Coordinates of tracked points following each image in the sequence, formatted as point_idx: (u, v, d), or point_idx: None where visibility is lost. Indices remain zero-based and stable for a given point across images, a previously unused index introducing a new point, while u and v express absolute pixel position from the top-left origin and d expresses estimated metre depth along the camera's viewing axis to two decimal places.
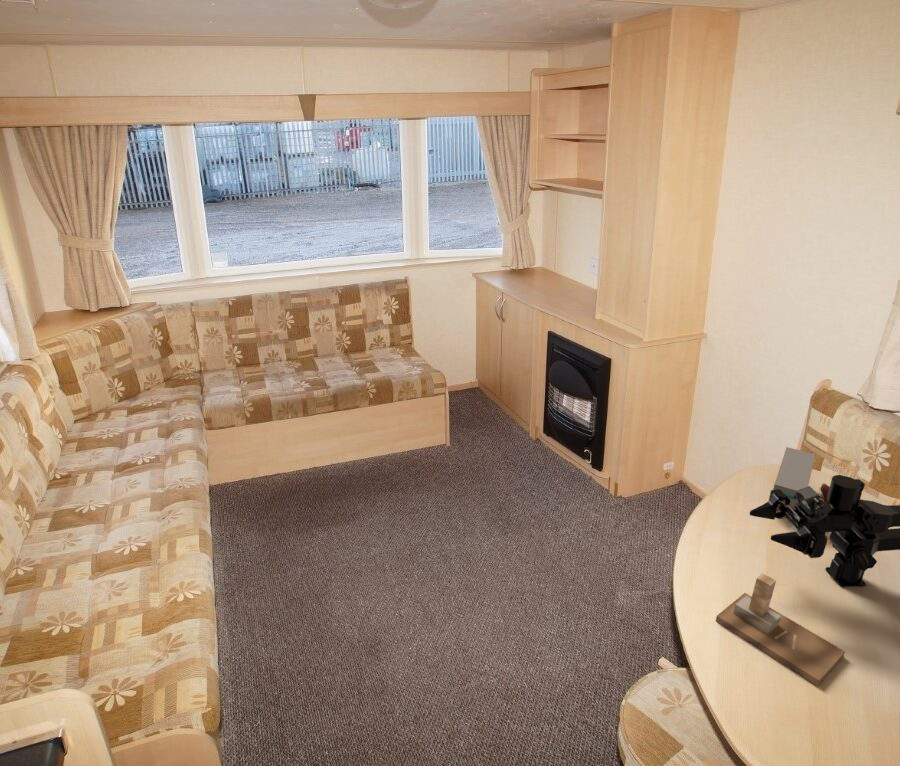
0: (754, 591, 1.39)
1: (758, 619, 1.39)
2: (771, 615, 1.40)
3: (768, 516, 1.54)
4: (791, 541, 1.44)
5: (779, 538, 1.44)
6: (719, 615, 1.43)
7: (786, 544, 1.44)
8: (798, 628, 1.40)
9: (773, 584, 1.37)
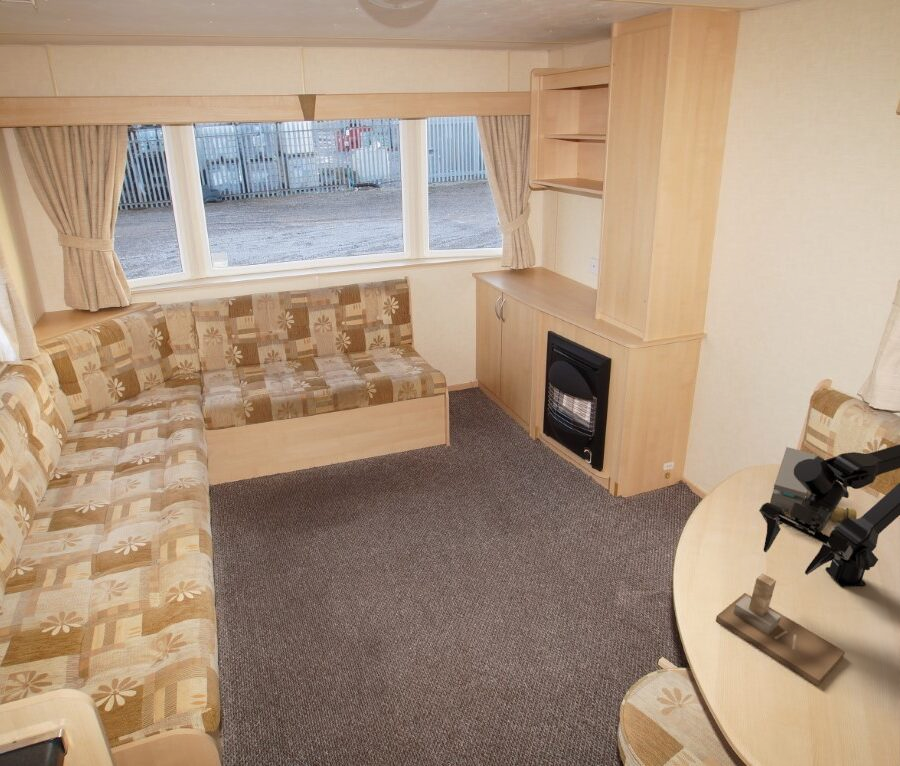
0: (754, 591, 1.39)
1: (758, 619, 1.39)
2: (771, 615, 1.40)
3: (776, 534, 1.47)
4: (821, 561, 1.38)
5: (812, 569, 1.38)
6: (719, 615, 1.43)
7: (819, 565, 1.39)
8: (798, 628, 1.40)
9: (773, 584, 1.37)
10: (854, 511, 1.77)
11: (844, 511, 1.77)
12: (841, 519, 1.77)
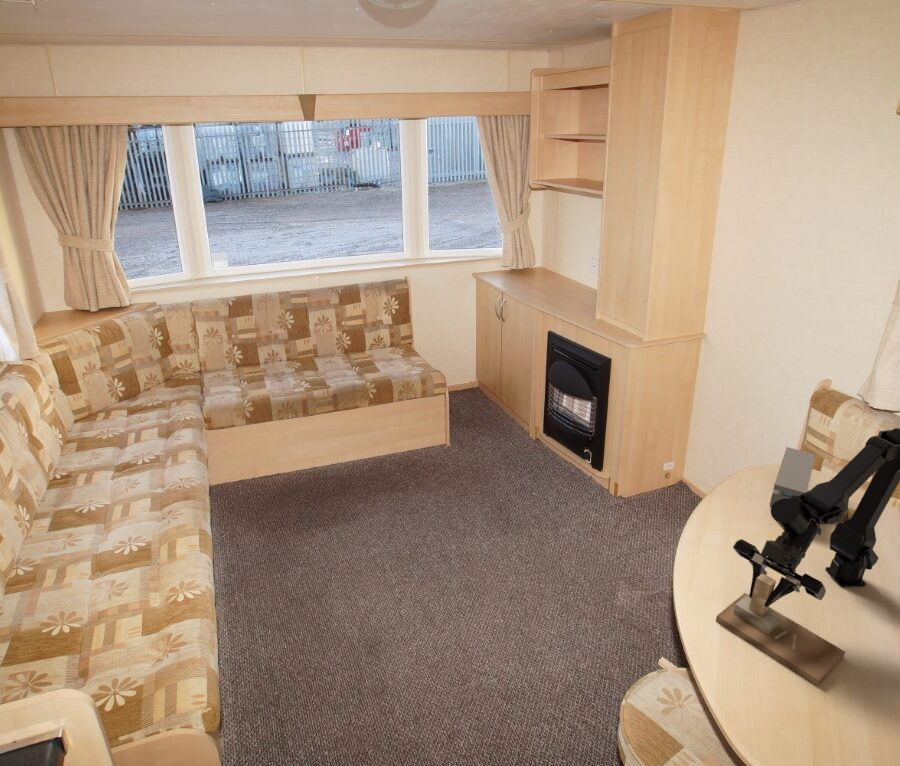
0: (754, 591, 1.39)
1: (758, 619, 1.39)
2: (771, 615, 1.40)
3: None
4: (781, 593, 1.38)
5: (771, 601, 1.38)
6: (719, 615, 1.43)
7: (779, 598, 1.39)
8: (798, 628, 1.40)
9: (773, 584, 1.37)
10: (854, 511, 1.77)
11: None
12: (841, 518, 1.78)
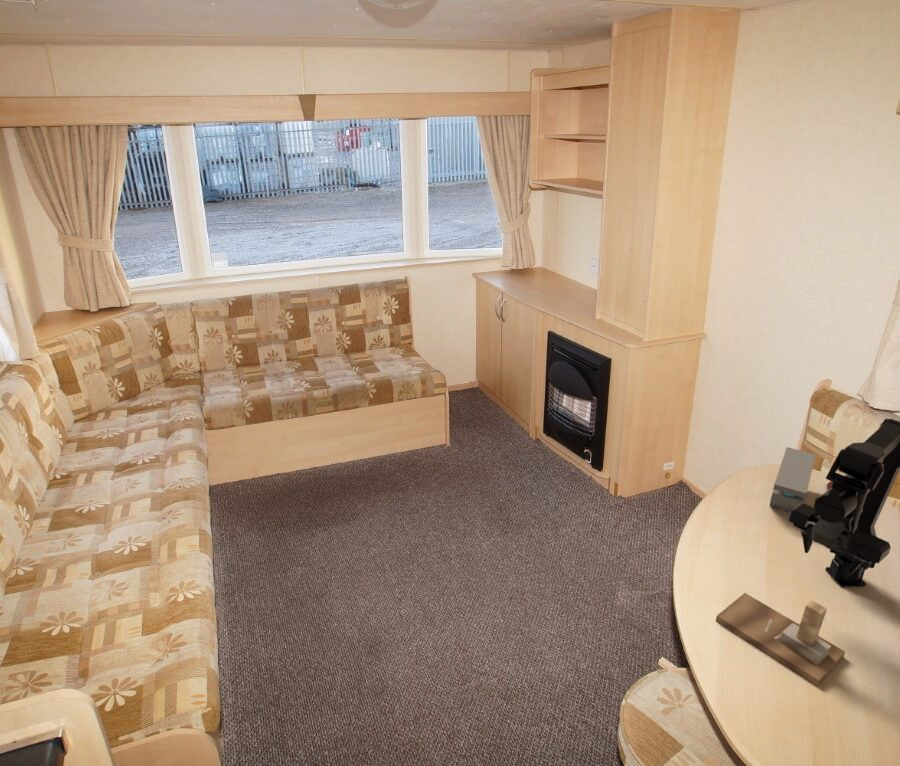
0: (803, 619, 1.32)
1: (807, 649, 1.32)
2: (821, 644, 1.32)
3: None
4: None
5: (854, 571, 1.38)
6: (719, 615, 1.43)
7: None
8: None
9: (824, 612, 1.30)
10: None
11: None
12: None
